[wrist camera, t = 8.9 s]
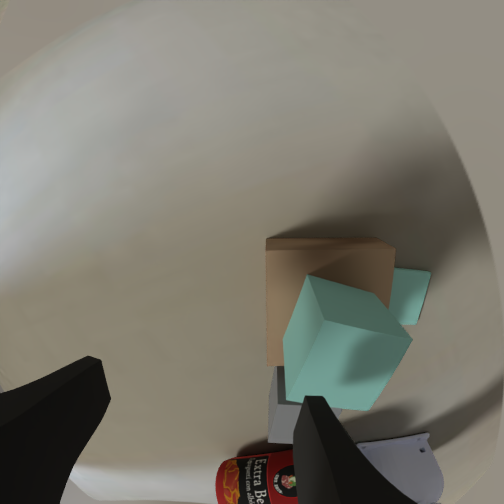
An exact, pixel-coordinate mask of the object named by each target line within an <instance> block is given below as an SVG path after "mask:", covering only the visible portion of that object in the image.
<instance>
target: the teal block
mask: <svg viewBox="0 0 504 504" xmlns="http://www.w3.org/2000/svg"><path fill="white" fill-rule="evenodd" d="M412 340H413V339H412V338H411V337H410V336H409V334H408V333H407V332H406V331H405V329H404V328H403V327H402V326H401V325H400V323H399V322H398V321H397V320H396V319H395V317H394V316H393V315H392V314H391V313H390V311H389V310H388V309H387V308H386V307H385V305H384V304H383V303H382V302H381V301H380V300H379V298H378V297H377V296H376V295H375V294H374V293H371V292H368V291H364V290H361V289H357V288H354V287H350V286H346V285H343V284H339V283H336V282H332V281H329V280H325V279H322V278H318V277H315V276H311V275H308V274H307V276H306V279H305V281H304V284H303V287H302V290H301V292H300V295H299V298H298V301H297V303H296V306H295V309H294V311H293V314H292V317H291V319H290V322H289V324H288V327H287V330H286V332H285V335H284V337H283V352H284V369H285V387H286V400H288V401H294V402H300V403H303V400H304V397H305V395H309V396H323V397H324V398H325V399H326V401H327V403H328V404H329V406H330V407H334V408H342V409H352V410H363V411H368V410H369V409H370V408H371V406H372V405H373V403H374V402H375V401H376V399H377V398H378V396H379V395H380V393H381V392H382V390H383V389H384V387H385V386H386V384H387V383H388V381H389V379H390V378H391V376H392V375H393V373H394V371H395V370H396V368H397V366H398V365H399V363H400V361H401V360H402V358H403V356H404V354H405V353H406V351H407V349H408V347H409V345H410V344H411V342H412Z"/></svg>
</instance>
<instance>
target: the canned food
mask: <svg viewBox="0 0 504 504" xmlns="http://www.w3.org/2000/svg"><path fill="white" fill-rule="evenodd" d="M216 496H217V501H218V504H298V498H297V489H296V481H295V472H294V463H293V449H291V450H286V451H280V452H274V453H268V454H261V455H253V456H244V457H234V458H231V459H228V460H226V461H224V462H223V463H222V464H221V465H220V467H219V469H218V472H217V476H216Z"/></svg>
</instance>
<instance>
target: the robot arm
mask: <svg viewBox="0 0 504 504" xmlns="http://www.w3.org/2000/svg"><path fill="white" fill-rule="evenodd" d="M110 400H111V397H110V393H109V390H108V386H107V382H106V378H105V374H104V370H103V366H102V361H101V360H100V359H97V358H94V357H91V356H86V357H84V358H82V359H80V360H77V361H75V362H73V363H71V364H69V365H67V366H65V367H63V368H61V369H59V370H57V371H55V372H53V373H51V374H49V375H47V376H45V377H43V378H40V379H38V380H36V381H33V382H31V383H29V384H26V385H24V386H21V387H19V388H16V389H13V390H10V391H7V392H3V393H0V504H60V500H61V497H62V494H63V491H64V488H65V485H66V483H67V480H68V478H69V475H70V473H71V471H72V468H73V466H74V464H75V462H76V461H77V459H78V457H79V455H80V454H81V452H82V451H83V449H84V447H85V446H86V444H87V443H88V441H89V440H90V438H91V436H92V435H93V433H94V432H95V430H96V428H97V427H98V425H99V424H100V422H101V420H102V418H103V416H104V414H105V412H106V410H107V407H108V405H109V403H110ZM429 436H430V435H429V433H423V434H419V435H413V436H408V437H402V438H396V439H390V440H383V441H375V442H366V443H358V444H355V443H354V442H353V440H352V439H351V437H350V436H349V435H348V433H347V432H346V431H345V429H344V428H343V426H342V425H341V423H340V422H339V420H338V419H337V417H336V416H335V414H334V412H333V411H332V409H331V408H330V406H329V404H328V403H327V401H326V399H325V398H324V397H323V396H309V395H305V397H304V400H303V403H302V407H301V410H300V413H299V416H298V419H297V422H296V425H295V428H294V431H293V463H294V472H295V481H296V489H297V498H298V504H441V503H436V502H437V501H438V500H439V498H440V497H441V495H442V492H443V488H444V479H443V474H442V472H441V469H440V467H439V465H438V463H437V461H436V459H435V456H434V454H433V452H432V450H431V448H430V446H429V444H428V442H427V439H428V438H429Z"/></svg>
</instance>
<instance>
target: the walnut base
mask: <svg viewBox="0 0 504 504" xmlns="http://www.w3.org/2000/svg"><path fill="white" fill-rule="evenodd" d="M395 255H396V248H394V247H392V246H390V245H388V244H387V243H385V242H383V241H381V240H379V239H378V238H273V239H266V310H267V366H284V352H283V337H284V335H285V332H286V330H287V327H288V324H289V322H290V319H291V317H292V314H293V311H294V309H295V306H296V303H297V301H298V298H299V295H300V292H301V290H302V287H303V284H304V281H305V279H306V276H307V274H308V275H311V276H315V277H318V278H322V279H325V280H329V281H332V282H336V283H339V284H343V285H346V286H350V287H354V288H357V289H361V290H364V291H368V292H371V293H374V294H375V295H376V296H377V297H378V298H379V300H380V301H381V302H382V303H383V304H384V305H385V307H386V308H387V309H388V310H389V304H390V297H391V290H392V282H393V274H394V265H395Z"/></svg>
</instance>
